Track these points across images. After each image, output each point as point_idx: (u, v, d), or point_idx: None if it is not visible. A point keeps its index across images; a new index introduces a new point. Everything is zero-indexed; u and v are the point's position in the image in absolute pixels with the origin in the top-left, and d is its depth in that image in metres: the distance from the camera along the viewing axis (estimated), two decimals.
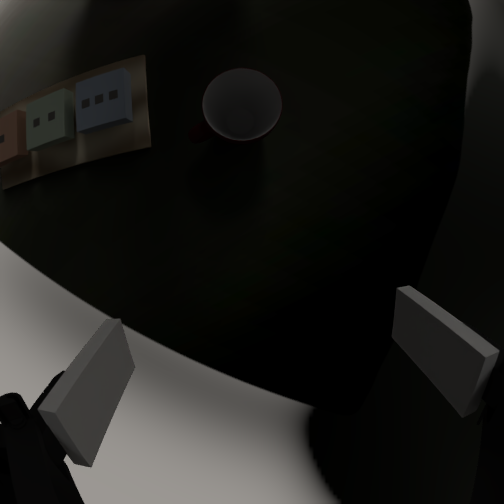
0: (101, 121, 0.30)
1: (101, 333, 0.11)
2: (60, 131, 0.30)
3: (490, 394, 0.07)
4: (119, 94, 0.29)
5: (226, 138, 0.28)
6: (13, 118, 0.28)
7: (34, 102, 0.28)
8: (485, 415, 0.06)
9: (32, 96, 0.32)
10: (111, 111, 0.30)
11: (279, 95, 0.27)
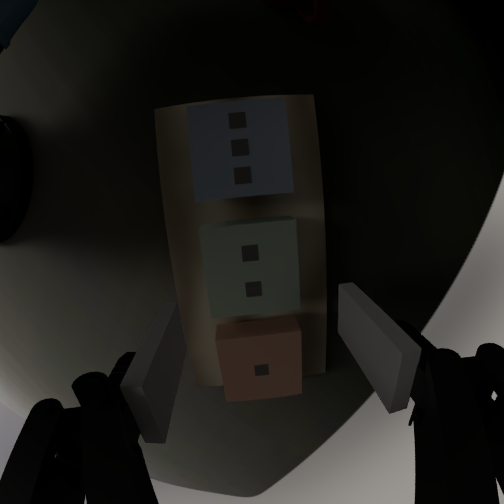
0: (284, 141, 0.20)
1: (162, 314, 0.13)
2: (285, 228, 0.21)
3: (417, 396, 0.08)
4: (239, 108, 0.19)
5: None
6: (231, 345, 0.23)
7: (211, 298, 0.22)
8: (415, 417, 0.08)
9: (185, 321, 0.28)
10: (268, 122, 0.20)
11: None
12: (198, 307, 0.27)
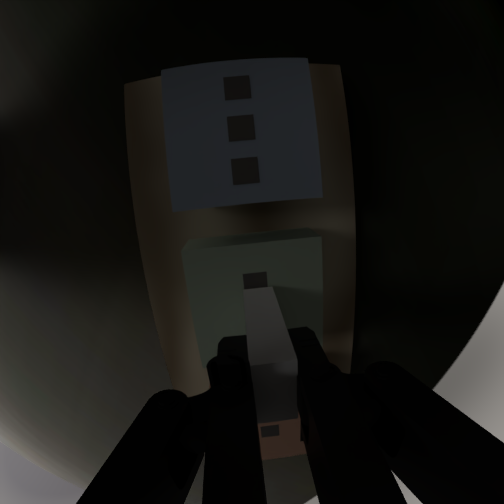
0: (308, 120, 0.13)
1: (250, 299, 0.14)
2: (307, 248, 0.15)
3: (299, 413, 0.08)
4: (240, 71, 0.12)
5: None
6: None
7: (202, 344, 0.16)
8: (303, 434, 0.08)
9: (170, 365, 0.20)
10: (285, 91, 0.12)
11: None
12: (186, 348, 0.20)
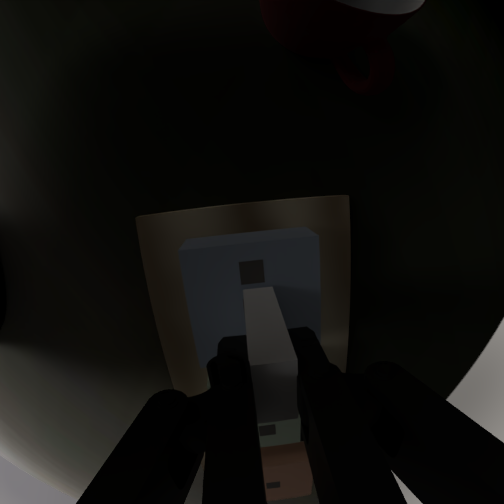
0: (314, 297, 0.15)
1: (250, 299, 0.14)
2: None
3: (299, 413, 0.08)
4: (254, 255, 0.15)
5: None
6: None
7: None
8: (303, 434, 0.08)
9: None
10: (295, 273, 0.15)
11: None
12: None
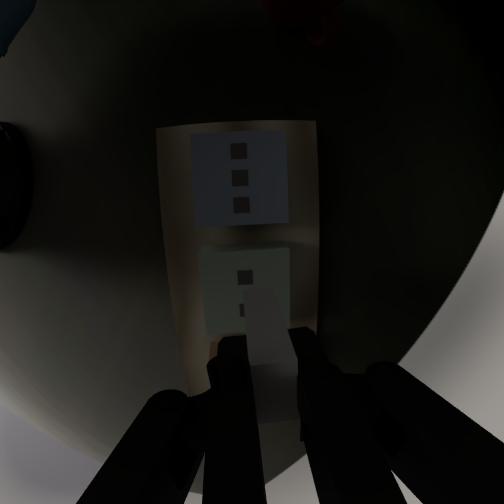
0: (282, 173, 0.21)
1: (250, 299, 0.14)
2: (279, 256, 0.23)
3: (299, 413, 0.08)
4: (241, 139, 0.21)
5: None
6: None
7: (207, 316, 0.24)
8: (303, 434, 0.08)
9: (180, 336, 0.28)
10: (268, 154, 0.21)
11: None
12: (193, 324, 0.28)
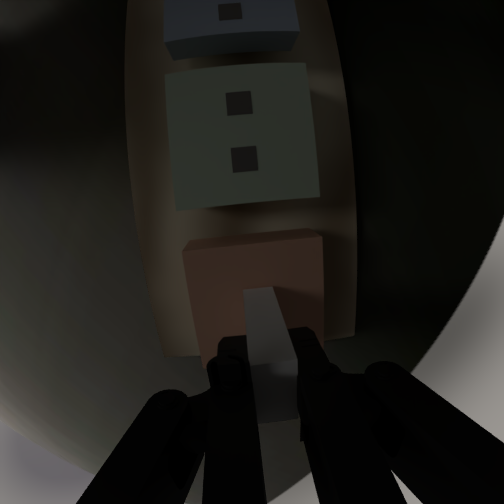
0: None
1: (250, 299, 0.14)
2: (291, 72, 0.13)
3: (299, 414, 0.08)
4: None
5: None
6: (208, 261, 0.15)
7: (177, 176, 0.14)
8: (303, 435, 0.08)
9: (144, 247, 0.18)
10: None
11: None
12: (163, 222, 0.18)
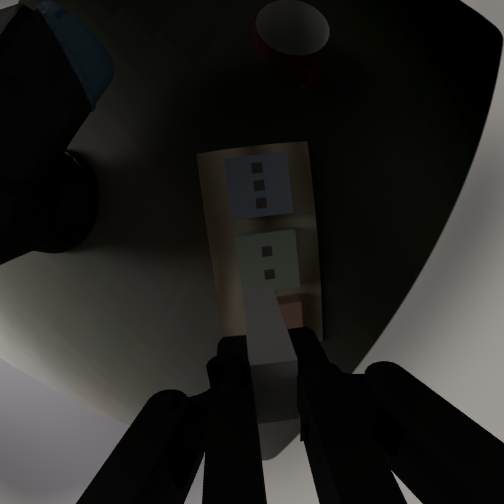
0: (286, 180, 0.33)
1: (250, 299, 0.14)
2: (288, 235, 0.34)
3: (299, 413, 0.08)
4: (257, 160, 0.32)
5: None
6: None
7: (242, 281, 0.35)
8: (303, 434, 0.08)
9: (221, 303, 0.40)
10: (276, 168, 0.32)
11: (281, 1, 0.23)
12: (230, 292, 0.40)
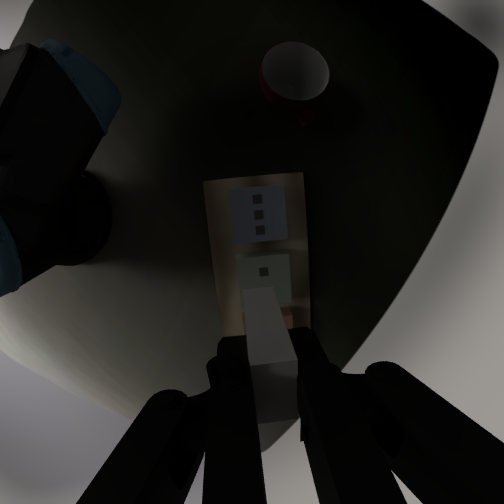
0: (283, 210, 0.38)
1: (250, 299, 0.14)
2: (283, 258, 0.39)
3: (299, 414, 0.08)
4: (258, 192, 0.37)
5: None
6: None
7: (242, 296, 0.40)
8: (303, 434, 0.08)
9: (221, 313, 0.45)
10: (274, 200, 0.38)
11: (286, 43, 0.28)
12: (230, 304, 0.45)
